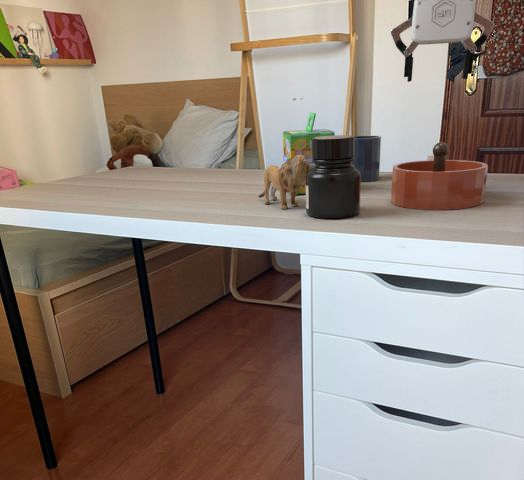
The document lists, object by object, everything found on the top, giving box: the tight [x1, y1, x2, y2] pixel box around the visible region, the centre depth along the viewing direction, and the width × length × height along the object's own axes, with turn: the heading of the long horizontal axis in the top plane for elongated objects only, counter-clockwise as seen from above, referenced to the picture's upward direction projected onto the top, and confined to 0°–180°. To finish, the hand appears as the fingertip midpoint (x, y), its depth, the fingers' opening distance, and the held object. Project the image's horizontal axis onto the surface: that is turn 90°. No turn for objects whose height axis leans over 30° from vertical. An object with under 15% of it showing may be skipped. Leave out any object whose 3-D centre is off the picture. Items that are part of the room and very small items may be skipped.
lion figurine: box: [258, 155, 312, 210], centre depth 96 cm, size 15×5×9 cm, turn 36°
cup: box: [351, 135, 382, 183], centre depth 118 cm, size 8×8×9 cm
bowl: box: [390, 155, 489, 211], centre depth 96 cm, size 16×23×6 cm
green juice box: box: [282, 112, 336, 195], centre depth 107 cm, size 9×9×15 cm
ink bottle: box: [305, 134, 362, 219], centre depth 86 cm, size 10×9×12 cm
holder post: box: [432, 141, 450, 172], centre depth 92 cm, size 9×9×10 cm
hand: (436, 80), depth 96 cm, fingers open, 9 cm apart
